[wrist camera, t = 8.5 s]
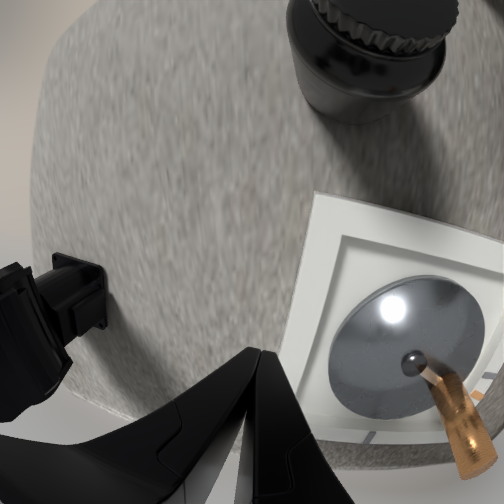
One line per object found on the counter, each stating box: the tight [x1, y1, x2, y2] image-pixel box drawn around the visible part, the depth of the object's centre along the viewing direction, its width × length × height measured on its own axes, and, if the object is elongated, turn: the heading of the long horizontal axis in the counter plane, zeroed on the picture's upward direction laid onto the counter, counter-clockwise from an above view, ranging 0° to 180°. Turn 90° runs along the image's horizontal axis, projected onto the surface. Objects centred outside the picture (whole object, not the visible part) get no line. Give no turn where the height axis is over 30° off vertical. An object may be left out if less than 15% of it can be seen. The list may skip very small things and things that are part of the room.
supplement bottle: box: [286, 0, 459, 125], centre depth 10 cm, size 7×7×12 cm
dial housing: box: [278, 190, 504, 445], centre depth 19 cm, size 20×20×3 cm
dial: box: [328, 275, 498, 480], centre depth 15 cm, size 13×13×10 cm
